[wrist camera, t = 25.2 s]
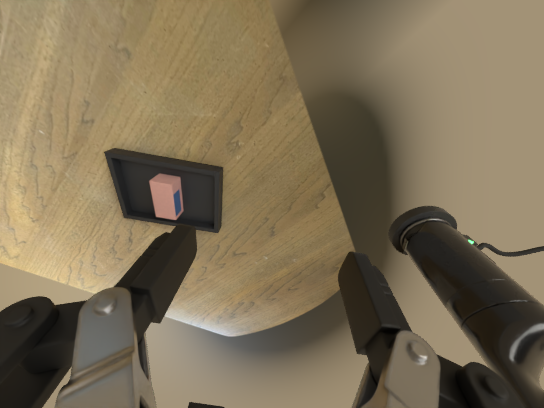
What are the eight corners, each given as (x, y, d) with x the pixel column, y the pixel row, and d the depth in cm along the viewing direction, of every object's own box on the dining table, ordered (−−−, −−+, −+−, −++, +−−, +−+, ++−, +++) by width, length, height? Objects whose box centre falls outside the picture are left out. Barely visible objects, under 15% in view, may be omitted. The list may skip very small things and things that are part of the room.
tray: (223, 167, 32) (219, 172, 30) (221, 226, 39) (218, 233, 37) (114, 147, 31) (103, 151, 29) (131, 211, 38) (123, 217, 36)
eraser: (180, 176, 33) (171, 184, 30) (184, 210, 36) (176, 220, 34) (159, 173, 32) (148, 180, 30) (164, 207, 36) (155, 216, 34)
